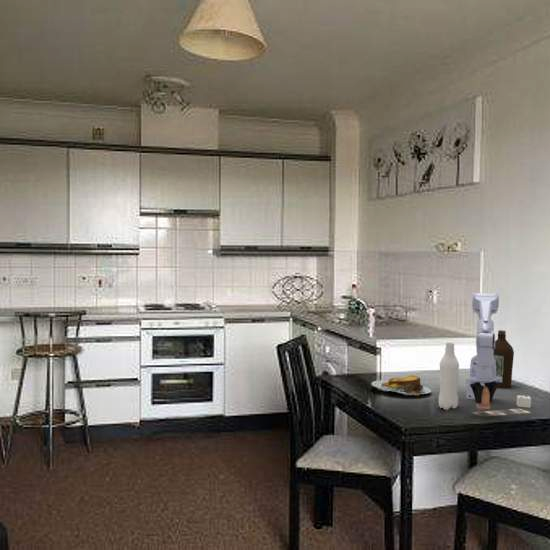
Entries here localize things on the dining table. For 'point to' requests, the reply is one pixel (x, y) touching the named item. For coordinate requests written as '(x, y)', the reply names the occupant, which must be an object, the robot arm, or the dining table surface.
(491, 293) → the robot arm
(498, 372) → the olive oil
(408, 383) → the food on plate
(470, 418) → the dining table surface
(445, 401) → the water bottle
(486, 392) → the pawn
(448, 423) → the dining table surface
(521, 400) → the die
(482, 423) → the dining table surface
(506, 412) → the board
